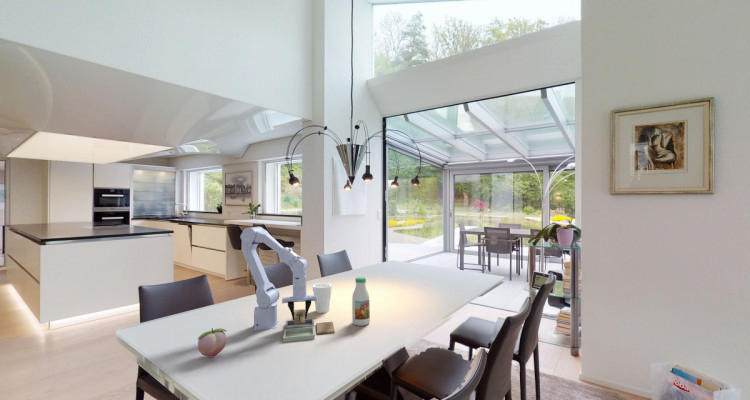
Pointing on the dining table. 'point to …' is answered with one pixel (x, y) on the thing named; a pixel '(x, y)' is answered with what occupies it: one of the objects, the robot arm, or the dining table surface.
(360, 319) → the milk bottle
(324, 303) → the foam cup
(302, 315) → the letter cube
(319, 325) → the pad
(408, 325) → the dining table surface
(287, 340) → the sage tray
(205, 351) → the decorative fruit
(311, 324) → the gray tray
